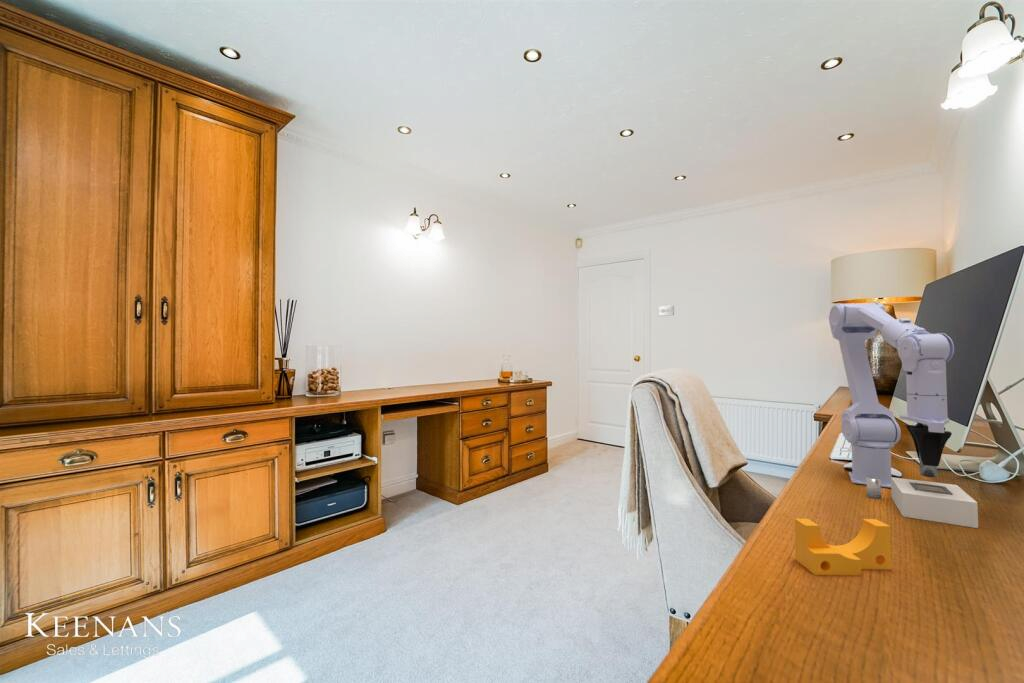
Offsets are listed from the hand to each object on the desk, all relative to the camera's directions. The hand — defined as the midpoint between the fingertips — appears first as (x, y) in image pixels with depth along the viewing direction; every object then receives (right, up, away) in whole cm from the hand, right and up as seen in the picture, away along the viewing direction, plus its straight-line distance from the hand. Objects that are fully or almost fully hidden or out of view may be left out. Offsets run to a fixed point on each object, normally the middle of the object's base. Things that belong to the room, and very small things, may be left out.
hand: (928, 463), depth 84 cm
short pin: (-4, -10, +8) cm, 13 cm away
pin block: (0, -9, 0) cm, 9 cm away
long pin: (0, -2, 0) cm, 2 cm away
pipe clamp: (-33, -10, -21) cm, 40 cm away
